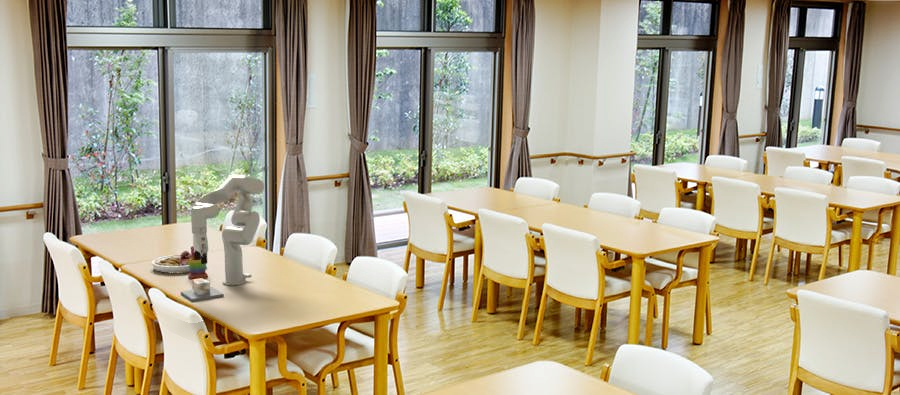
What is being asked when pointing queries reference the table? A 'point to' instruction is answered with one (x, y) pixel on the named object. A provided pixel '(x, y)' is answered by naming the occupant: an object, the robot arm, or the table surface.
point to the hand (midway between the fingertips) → (200, 261)
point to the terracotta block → (196, 280)
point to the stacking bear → (196, 267)
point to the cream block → (201, 287)
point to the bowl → (173, 263)
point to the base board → (195, 297)
